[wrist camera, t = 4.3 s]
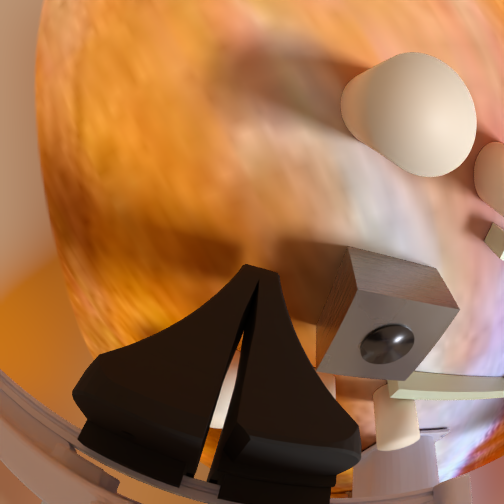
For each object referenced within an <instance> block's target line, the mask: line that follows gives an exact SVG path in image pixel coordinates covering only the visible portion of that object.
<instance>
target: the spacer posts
mask: <svg viewBox="0 0 504 504" xmlns="http://www.w3.org/2000/svg"><path fill="white" fill-rule="evenodd" d="M340 107H341V114H342V118H343V121H344V123H345V125H346V127H347V128H348V130H349V131H350V132H351V133H352V135H353V136H354V137H355V138H357V139H358V140H359V141H361V142H362V143H364V144H366V145H367V146H369V147H370V148H372V149H374V150H375V151H377V152H378V153H380V154H381V155H383V156H384V157H386V158H387V159H389V160H390V161H392V162H393V163H394V164H396V165H397V166H399V167H400V168H402V169H403V170H405V171H407V172H409V173H412V174H414V175H418V176H423V177H437V176H441V175H444V174H447V173H449V172H451V171H453V170H455V169H456V168H457V167H458V166H460V165H461V164H462V162H463V161H464V160H465V159H466V157H467V156H468V154H469V153H470V151H471V149H472V146H473V143H474V140H475V136H476V112H475V107H474V103H473V100H472V97H471V95H470V93H469V91H468V89H467V87H466V85H465V84H464V82H463V81H462V79H461V78H460V77H459V75H458V74H457V73H456V72H455V71H454V70H453V69H452V68H451V67H449V66H448V65H447V64H445V63H444V62H442V61H441V60H439V59H437V58H435V57H433V56H430V55H427V54H423V53H415V52H410V53H403V54H399V55H396V56H394V57H392V58H390V59H388V60H386V61H384V62H382V63H380V64H378V65H376V66H374V67H372V68H370V69H368V70H366V71H365V72H363V73H361V74H359V75H357V76H355V77H354V78H353V79H351V80H350V81H349V82H348V84H347V85H346V87H345V88H344V90H343V93H342V96H341V104H340ZM474 185H475V189H476V191H477V194H478V195H479V197H480V198H481V200H482V201H483V202H485V203H486V204H487V205H489V206H490V207H491V208H493V209H494V210H495V211H497V212H498V213H499V214H500V215H502V216H503V217H504V144H503V143H500V142H491V143H488V144H487V145H485V146H484V147H483V148H482V149H481V151H480V152H479V154H478V156H477V159H476V162H475V166H474ZM239 358H240V351H238V350H236V351H235V354H234V356H233V359H232V361H231V364H230V366H229V369H228V371H227V374H226V376H225V379H224V382H223V385H222V388H221V391H220V395H219V398H218V401H217V405H216V408H215V411H214V415H213V418H212V421H211V424H210V427H212V428H223V425H224V422H225V418H226V415H227V411H228V408H229V404H230V400H231V397H232V393H233V390H234V386H235V381H236V376H237V370H238V364H239ZM314 369H315V371H316V368H314ZM317 374H318V376H319V377H320V379H321V380H322V382H323V383H324V385H325V386H326V388H327V389H328V390H329V392H330V393H331V394H332V396H333V397H334V398H335V400H336V386H335V376H334V375H333V374H329V373H322V372H317ZM373 402H374V413H375V426H376V443H377V449H378V450H380V451H391V450H397V449H401V448H404V447H407V446H409V445H411V444H413V443H415V442H416V441H418V440H419V439H420V430H419V424H418V417H417V411H416V406H415V401H414V399H399V398H390V396H389V389H388V384H386V385H384V386H382V387H380V388H379V389H377V390H376V391H375V392H374V394H373Z"/></svg>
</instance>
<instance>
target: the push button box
mask: <svg viewBox="0 0 504 504" xmlns="http://www.w3.org/2000/svg"><path fill="white" fill-rule="evenodd" d="M459 310H460V309H459V307H458V305H457V304H456V302H455V300H454V298H453V296H452V294H451V293H450V291H449V289H448V287H447V286H446V284H445V282H444V281H443V279H442V277H441V276H440V274H439V272H438V271H437V269H436V268H432V267H428V266H425V265H421V264H417V263H413V262H409V261H406V260H402V259H398V258H394V257H390V256H386V255H382V254H378V253H374V252H370V251H366V250H362V249H357V248H353V247H349V246H347V249H346V252H345V255H344V257H343V260H342V263H341V266H340V268H339V271H338V274H337V276H336V279H335V281H334V284H333V286H332V289H331V291H330V294H329V296H328V299H327V301H326V304H325V306H324V309H323V311H322V313H321V316H320V318H319V320H318V323H317V325H316V372H322V373H329V374H336V375H344V376H352V377H361V378H371V379H383V380H397V381H405V380H406V379H407V378H408V377H409V376H410V375H411V374H412V372H413V371H414V370H415V369H416V368H417V367H418V365H419V364H420V363H421V362H422V361H423V359H424V358H425V357H426V356H427V354H428V353H429V352H430V351H431V349H432V348H433V347H434V346H435V344H436V343H437V342H438V340H439V339H440V338H441V336H442V335H443V334H444V332H445V331H446V329H447V328H448V327H449V325H450V324H451V322H452V321H453V319H454V318H455V316H456V315H457V313H458V312H459Z"/></svg>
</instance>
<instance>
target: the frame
mask: <svg viewBox="0 0 504 504" xmlns="http://www.w3.org/2000/svg"><path fill="white" fill-rule="evenodd" d="M484 242H485V243H486V244H487V245H488V246H489V248H490V249H491V250H492V251H493V252H494V253H495V254H496V255H497V256H498V257H499V258H500V259H501V260H503V261H504V229H502V228H501V227H499V226H498V225H496V224H494V223H493V224H492V226H491V228H490V230H489V232H488V234H487V236H486V238H485V240H484ZM387 383H388V389H389V396H390V398H399V399H416V400H475V399H491V398H502V397H504V377H476V376H458V375H445V374H434V373H424V372H415V371H413V372H412V374H411V375H410V376H409V377H408V378H407V379H406V380H405V381H397V380H387Z"/></svg>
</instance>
